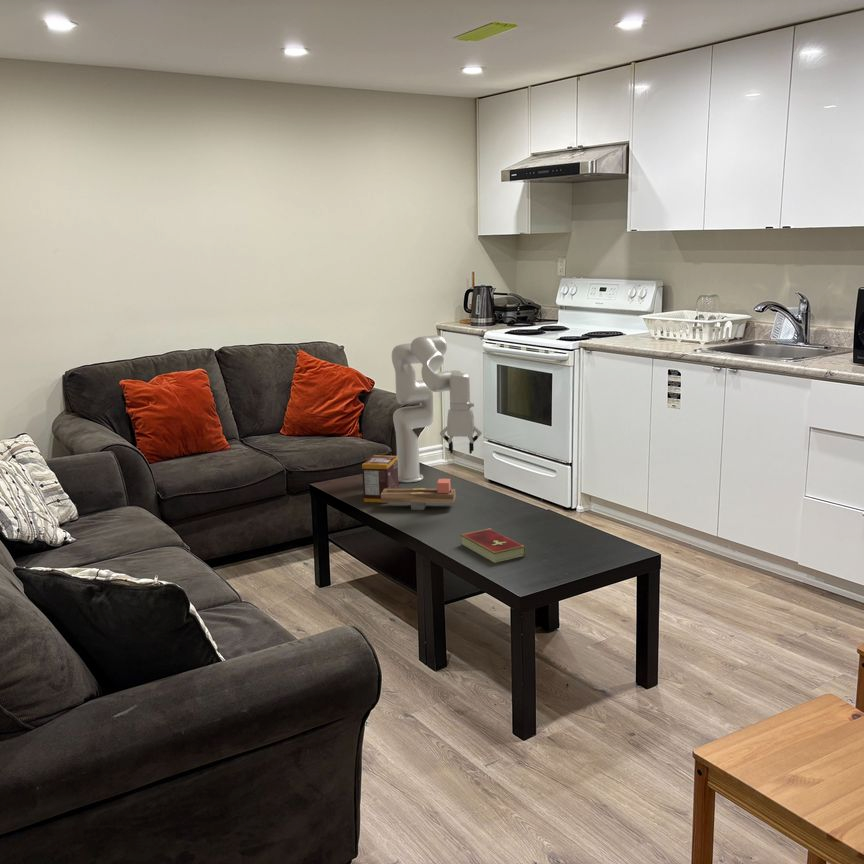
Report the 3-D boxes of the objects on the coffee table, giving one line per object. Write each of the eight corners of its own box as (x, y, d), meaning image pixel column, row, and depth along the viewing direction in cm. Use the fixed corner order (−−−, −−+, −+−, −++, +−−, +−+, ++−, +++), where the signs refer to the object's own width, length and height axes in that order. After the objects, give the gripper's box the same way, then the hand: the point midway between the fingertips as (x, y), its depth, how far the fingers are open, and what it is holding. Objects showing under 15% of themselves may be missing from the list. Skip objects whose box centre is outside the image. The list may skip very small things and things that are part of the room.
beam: (385, 503, 337) (384, 487, 336) (455, 504, 334) (455, 488, 332) (381, 509, 330) (380, 493, 328) (453, 510, 326) (453, 494, 325)
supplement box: (399, 492, 352) (397, 455, 349) (388, 503, 338) (386, 465, 335) (375, 491, 355) (373, 454, 352) (363, 502, 340) (361, 464, 337)
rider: (439, 493, 333) (439, 478, 331) (450, 493, 332) (450, 478, 331) (437, 497, 327) (437, 483, 326) (449, 497, 326) (448, 483, 325)
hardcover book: (490, 539, 295) (490, 527, 294) (525, 557, 277) (525, 544, 276) (460, 545, 289) (460, 533, 288) (494, 564, 271) (494, 552, 270)
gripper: (483, 404, 324) (484, 450, 327) (438, 404, 326) (439, 450, 330) (482, 408, 316) (483, 455, 320) (435, 408, 319) (437, 455, 322)
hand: (461, 452), depth 325 cm, fingers open, 6 cm apart
